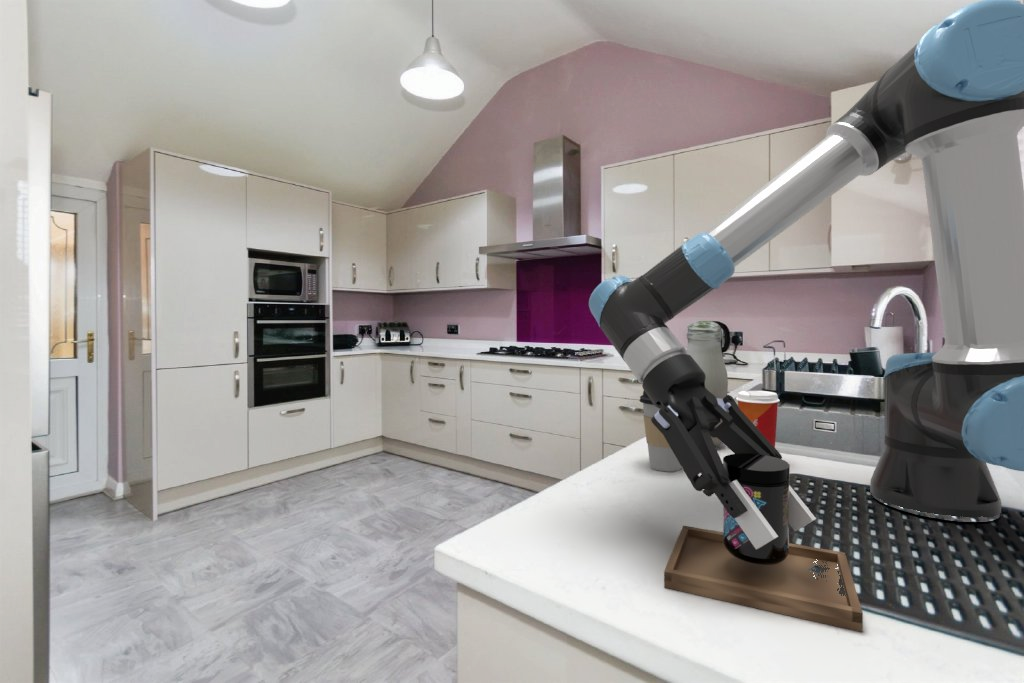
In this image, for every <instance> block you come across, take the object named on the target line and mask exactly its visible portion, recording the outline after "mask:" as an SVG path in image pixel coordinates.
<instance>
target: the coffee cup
mask: <svg viewBox="0 0 1024 683" xmlns="http://www.w3.org/2000/svg"><path fill="white" fill-rule="evenodd" d="M639 402H640V403H642V406H643V422H644V432H645V439H646V440H645V441H646V444H647V449H648V450H647V451H648V458H649V466H650V468H651V469H652V468H653V469H652V470H656V471H660V472H667V473H669V472H670V473H673V472H678V471H680V470H681V469H682V466H681V465H680V463H679V461H678V460H677V458H676V456H675V454H674V453H673V451H672V449H671V448H670V446H669V444H668V442H667V441H666V439H665V437H664V435H663V434H662V433H661V432H660V431H659V430H658V428H657V427H656V426H655V425H654V424H653V423H652V421H651V418H652V417H653V416H654V415H655V414H656V413H657V412H658V411H659V410H660V408H657V407H656V406H655V405H654V404H653V402H652V401H651V399H650V398H649V396H648V395H647V394H646V392H645V391H644V390H643V392H642V395H640V396H639Z"/></svg>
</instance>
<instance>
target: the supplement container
mask: <svg viewBox="0 0 1024 683" xmlns="http://www.w3.org/2000/svg"><path fill="white" fill-rule="evenodd" d="M722 463H723V465H724V468H725V470H726V472H727V474H728V477H729V482H728V483H729V484H730V483H731V482H732V481H735V480H737V481H738V482H739V483H740V485H741V486H742V488H743V489H744V490H745V492H746V493H747V494H748V496H749V497H750V498H751V500H752V501H753V503H754V504H755V505H756V507H757V508H758V509H759V511H760V512H761V513H762V515H763V516H764V518H765V519H766V520H767V522H768V523H769V524H770V526H771V527H772V529H773V530H774V531H775V533H776V534H777V535H778V537H777V538H775V539H773V540H772V541H770V542H769V543H767V544H765V545H764V546H762V547H760V548H758V549H755V547H754V546H753V544H752V543H751V541H750V540H749V539H748V537H747V536H746V534H745V533H744V531H743V530H742V529H741V527H740V526H739V524H738V523H737V521H736V520H735V518H732V517H731V516H730V515H729V513H728V512H727V510H726V509H725V507H724V506H723V505H722V507H723V508H722V509H723V510H722V512H723V513H722V514H723V517H722V518H723V522H722V523H723V524H722V525H723V526H722V527H723V528H722V529H723V531H722V532H723V542H724V545H725V548H726V549H727V550H728V551H729V553H730V554H732V555H733V556H735V557H736V558H739V559H741V560H743V561H746V562H750V563H754V564H761V565H773V564H778V563H781V562H782V561H784V560H785V559H786V558H787V556H788V554H789V543H790V538H789V536H790V535H789V534H790V530H789V529H790V524H789V484H790V481H791V478H790V476H791V475H790V473H791V472H790V467H791V466H790V463H789V462H787V461H786V460H784V459H783V458H782V459H779V458H776V457H772V456H767V455H760V454H748V453H740V454H735V453H731V454H727V455H725V456H724V457H723V459H722Z"/></svg>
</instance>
